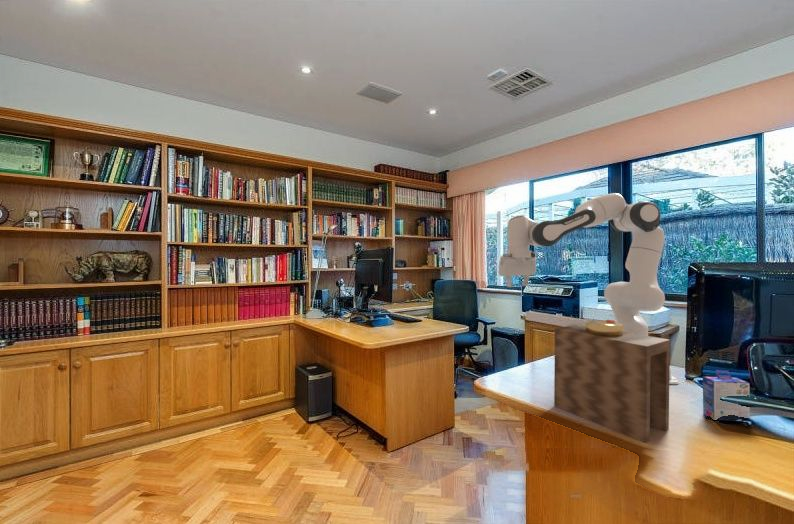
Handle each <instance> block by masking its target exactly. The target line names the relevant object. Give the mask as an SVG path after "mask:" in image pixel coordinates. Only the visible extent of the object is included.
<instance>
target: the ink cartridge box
mask: <svg viewBox="0 0 794 524" xmlns="http://www.w3.org/2000/svg"><path fill="white" fill-rule="evenodd" d="M721 373H724V374H721ZM715 374H716V376H702V405H703V406H702V408H703V409H702V413H703V414H702V415H704V416H705V415H706V417H707V416H710V417H711V418H712V419H713V420H717V419H718V418H720V417H722V416H728V415H735V416H738V417H744V418H750V416H751V415H750V413H751V412H750V407H746V406H741V405H738V404H734V403H730V402H726V401H722V400H720V397H721V398H722V397H727V396H747V395H749V396H750V391H751V390H750V382H748V381H746V380H743V379H741V378H738V377H732V375H731V374H730V372H729V370H721V369H720V370H719V369H715ZM726 374H727V375H726ZM712 419H711V420H712ZM713 420H712V421H713Z"/></svg>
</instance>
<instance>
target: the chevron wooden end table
mask: <svg viewBox="0 0 794 524" xmlns="http://www.w3.org/2000/svg"><path fill="white" fill-rule="evenodd" d="M670 347H671V339H667V338H661V337H657V336H656V337H655V336H651V335H650V336H649V335H648V336H645V335H639V334H633V333H628V332H623V336H619V337H608V336H599V335H593V334H589V333H587V332H586V331H585V330H579V329H574V328H568V327H563V326H560V327H557V328H554V376H553V377H554V379H553V380H554V382H553V383H554V385H553V387H554V390H553V394H554V396H553V397H554V402H553V405H554V407H555V408H558V409H560V410H562V411H566V412H568V413H570V414H572V415H576V416H578V417H581V418H583V419H585V420H587V421H591V422H593V423H595V424H598V425H600V426H603V427H606V428H608V429H611V430H612V431H615V432H618V433H621V434H623V435H625V436H627V437H630V438H633V439H635V440H639V441H640V442H644V443H645V444H646V443H649V442H650V441H651V439H650V437H651V436H650V428H651V427H650V426H652V427H654V428H657V429H659V430H662V431H665V432H666V431H668V430H669V424H670V422H669V421H670V384H669V370H670V371H671V368H670V367H671V366H670V362H671V361H670V357H671V356H670V355H671V353H670V352H671V348H670Z"/></svg>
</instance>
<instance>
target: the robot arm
mask: <svg viewBox="0 0 794 524" xmlns="http://www.w3.org/2000/svg"><path fill="white" fill-rule="evenodd" d="M606 222H609V224H610V225H611V228H613V230H615V231H616V232H619V233H629V232H631V235H632V242H631V244H630V246H629V251H628V254H627V257H626V260H625V264H624V265H625V269H626V270H627V271H628V272H629V281H628V282H627V281H617V282H611V283H608V284H607V285H606V287H605V289H604V291H603V296H604V299H605V300H606V301H607V303H608V304H609V306H610V308H611V310H612V313H613V316H614V321H615V322H616V323H620V324H623V332H628V333H633V334H639V335H645V336H649V325H648V322H646V320H644V318H643V316H642V315H641V312H656V311H658V310H660V309H662V307H663V306H664V304H665V302H666V297H665V296H666V295H665V293H664V291H663V290H662V289H661V288H660V285H659V282H658V269H659V265H660V262H661V258H662V257H661V256H662V253H663V250H664V245H665V231H664V229H663V228H661V227H660V224H661V210H660V208H659V206H658V205H657V204H656V203H655V202H652V201H649V200H648V201H647V200H646V201H645V200H644V201H637V202H635V203H630V204H628V203H627V202H626V200H625V198H624V197H623V196H622V195H621V194H620V193H616V192H612V193H607V194H603V195H599V196H597V197H593V198H591V199H589V200H587V201H585V202H583V203H582V204H579V205H578V206H576V208H575V211H574V212H573V214H570V215H568V216H565V217H563V218H560V219H559V220H543V221H541V222H537V221H535V220H533V219H531V218H529V217H528V216H527V215H519V216H514V217H512V218H510V219H509V220H508V222H507V227H506V239H507V244H506V253H503V254H502V255H501V256H500V260H499V263H498V275H499V277H504V280H505V281H506V283H507V285H506V286H507V288H513V287H514V283H513V282H512V280H511V279H512V277H522V276H523V277H522V278H523V281H522V282H521V286H522V287H527V286H528V282H529V280H530V276H535V275H536V273H537V260H536V258H537V253H536V252H534V251H532V250H531V249H530V248H529V247H530V246H534V247H551V246H554V245H556V244H557V243H558V242H560V240H562V238H563V237H564V236H566V235H568V234H570V233H572V232H575V231H576V230H580V229H582V228H592V227H595V226H599V225H601V224H604V223H606ZM678 384H679V380H678V378H676V377H675V376H673V375H672V371H671V369H670V370H669V385H678Z"/></svg>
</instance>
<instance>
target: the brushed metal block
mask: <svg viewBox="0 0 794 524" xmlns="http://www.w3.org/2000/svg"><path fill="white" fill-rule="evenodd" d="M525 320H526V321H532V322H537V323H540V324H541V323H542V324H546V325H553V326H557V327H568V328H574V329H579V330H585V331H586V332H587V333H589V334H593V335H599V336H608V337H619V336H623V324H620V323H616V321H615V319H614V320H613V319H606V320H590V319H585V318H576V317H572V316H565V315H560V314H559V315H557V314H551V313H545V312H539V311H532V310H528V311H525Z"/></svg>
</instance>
